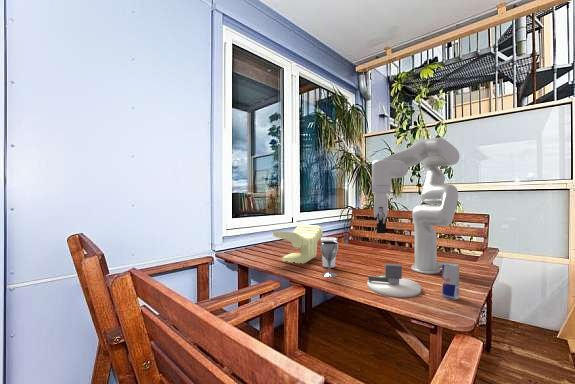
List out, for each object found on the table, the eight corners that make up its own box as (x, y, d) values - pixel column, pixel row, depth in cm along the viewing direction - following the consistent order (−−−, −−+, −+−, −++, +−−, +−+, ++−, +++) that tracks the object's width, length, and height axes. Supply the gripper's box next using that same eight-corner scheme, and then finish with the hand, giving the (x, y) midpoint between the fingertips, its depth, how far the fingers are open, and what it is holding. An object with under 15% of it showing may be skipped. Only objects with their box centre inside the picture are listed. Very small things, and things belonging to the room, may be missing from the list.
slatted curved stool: (300, 268, 139) (300, 233, 139) (273, 264, 147) (273, 230, 147) (322, 255, 166) (322, 225, 166) (298, 252, 173) (298, 224, 173)
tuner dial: (411, 280, 120) (411, 276, 120) (429, 298, 100) (429, 293, 100) (364, 278, 123) (364, 274, 123) (371, 296, 103) (371, 291, 103)
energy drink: (438, 294, 104) (438, 262, 103) (452, 294, 104) (452, 262, 104) (448, 300, 98) (448, 266, 98) (462, 299, 99) (462, 266, 99)
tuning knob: (401, 281, 113) (400, 264, 112) (402, 284, 108) (401, 267, 108) (368, 278, 116) (368, 261, 116) (368, 282, 112) (368, 264, 112)
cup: (340, 267, 141) (340, 238, 141) (328, 269, 137) (328, 240, 137) (329, 263, 148) (329, 236, 148) (317, 266, 143) (317, 238, 143)
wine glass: (334, 278, 123) (333, 244, 123) (317, 275, 127) (317, 243, 127) (340, 274, 130) (340, 241, 130) (325, 271, 134) (324, 240, 134)
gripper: (373, 190, 125) (373, 228, 125) (370, 190, 108) (370, 234, 109) (391, 190, 122) (391, 229, 122) (390, 190, 106) (390, 235, 106)
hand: (381, 231), depth 115 cm, fingers open, 9 cm apart
